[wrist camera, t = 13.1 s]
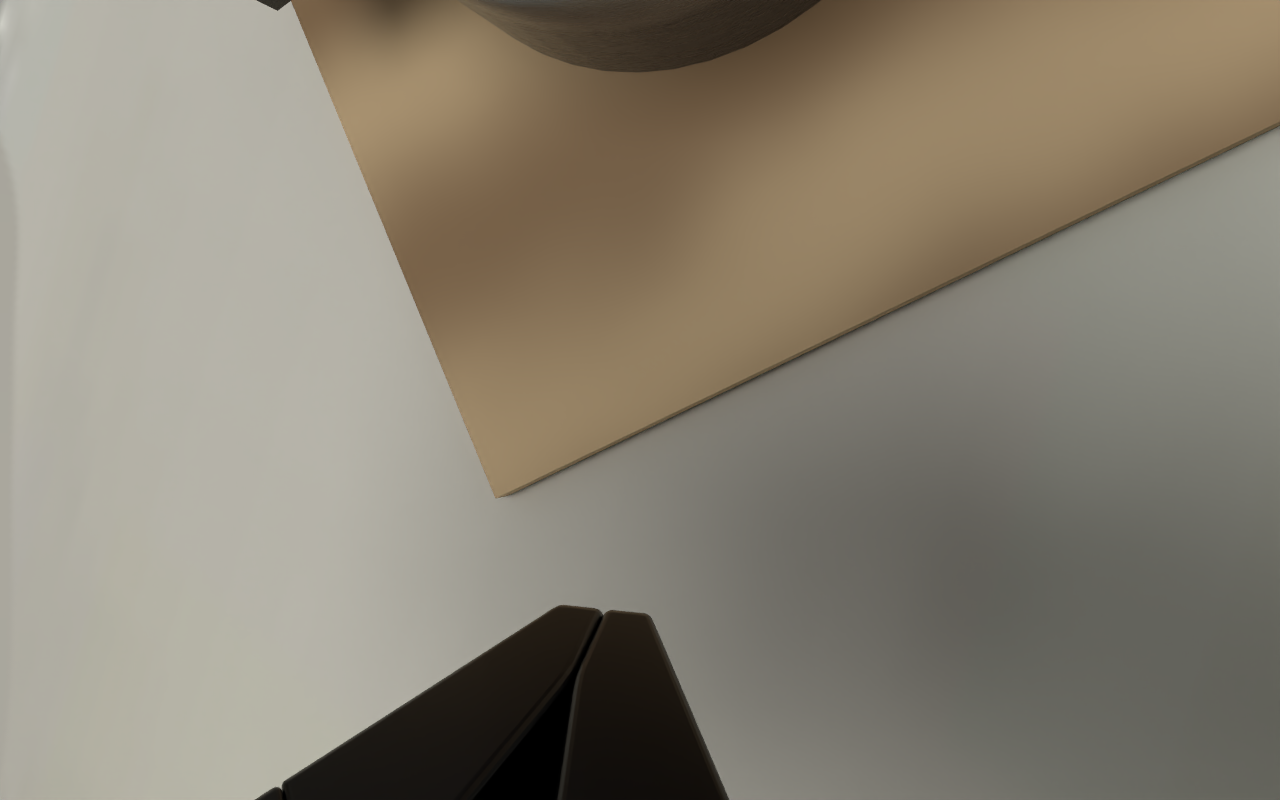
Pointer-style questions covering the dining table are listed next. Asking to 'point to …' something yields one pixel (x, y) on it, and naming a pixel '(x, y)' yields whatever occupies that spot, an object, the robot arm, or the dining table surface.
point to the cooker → (634, 28)
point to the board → (750, 182)
